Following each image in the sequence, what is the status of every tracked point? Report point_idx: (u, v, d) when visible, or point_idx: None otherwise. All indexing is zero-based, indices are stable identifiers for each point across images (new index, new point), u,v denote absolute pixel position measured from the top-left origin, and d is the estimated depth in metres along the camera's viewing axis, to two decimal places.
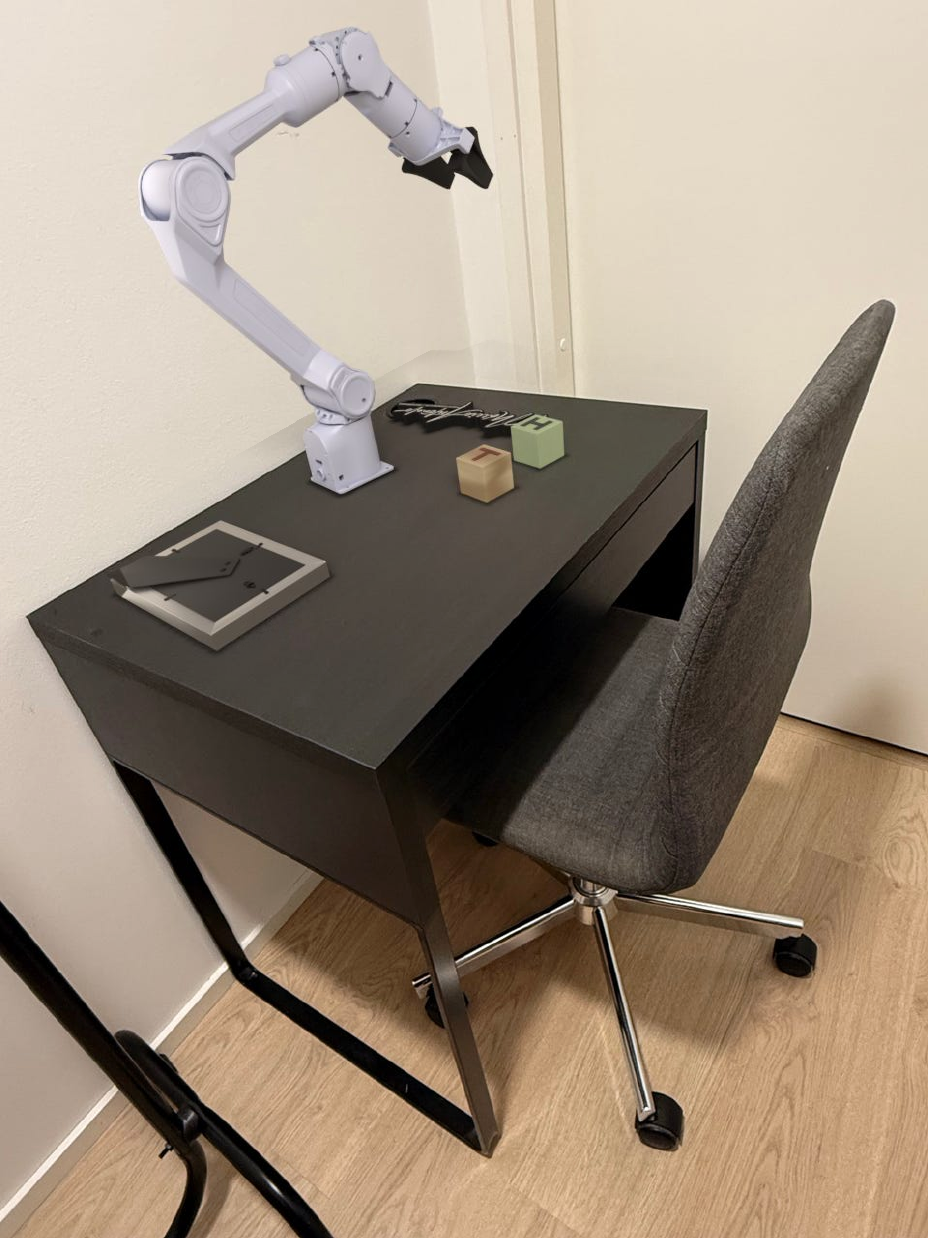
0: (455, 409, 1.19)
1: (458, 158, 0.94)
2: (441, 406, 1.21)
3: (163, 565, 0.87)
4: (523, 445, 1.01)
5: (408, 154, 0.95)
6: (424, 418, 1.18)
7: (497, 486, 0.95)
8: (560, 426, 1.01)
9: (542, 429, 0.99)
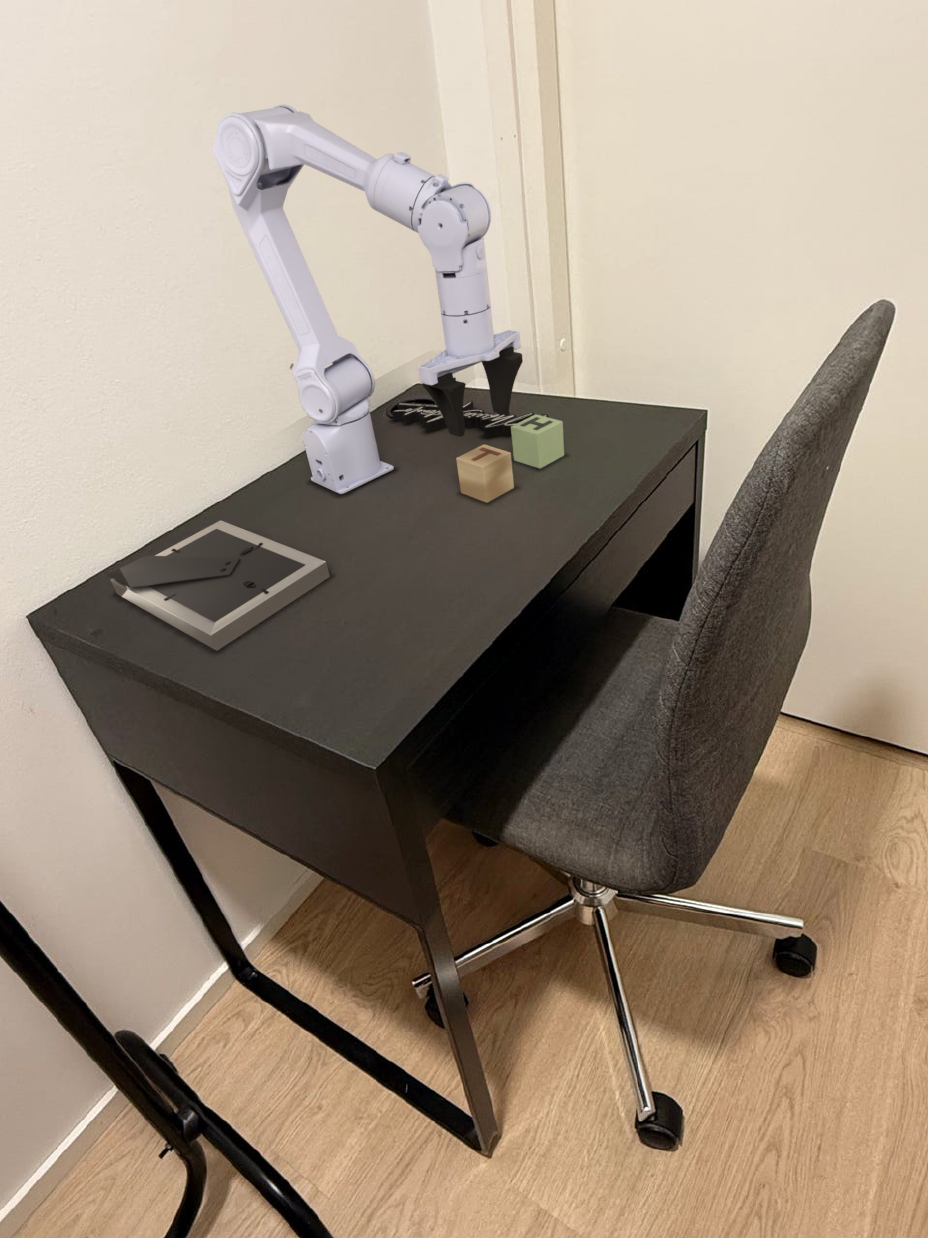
0: None
1: None
2: None
3: (163, 565, 0.87)
4: (523, 445, 1.01)
5: None
6: (424, 418, 1.18)
7: (497, 486, 0.95)
8: (560, 426, 1.01)
9: (542, 429, 0.99)
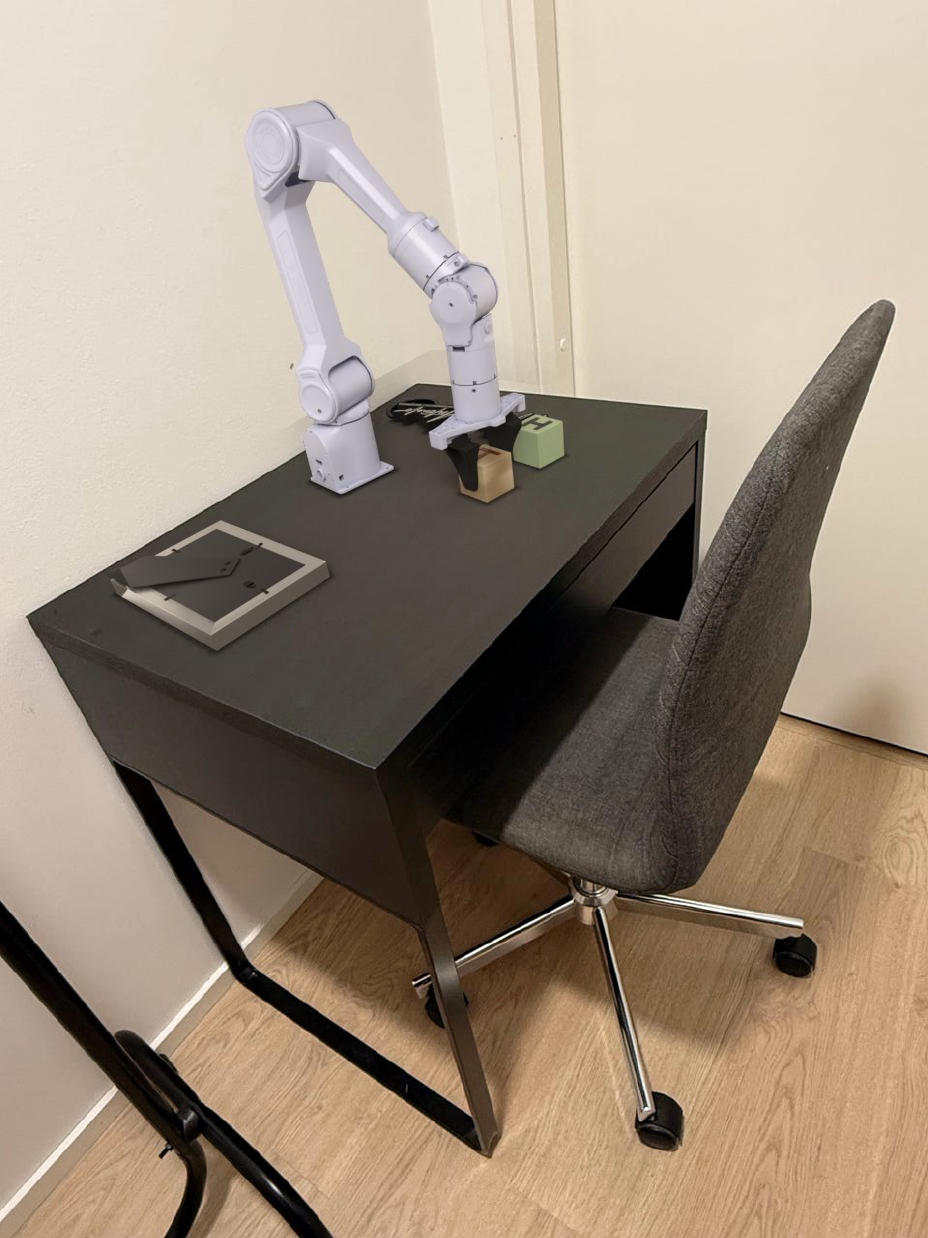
0: None
1: None
2: (441, 406, 1.21)
3: (163, 565, 0.87)
4: (523, 445, 1.01)
5: None
6: (424, 418, 1.18)
7: (497, 486, 0.95)
8: (560, 426, 1.01)
9: (542, 429, 0.99)
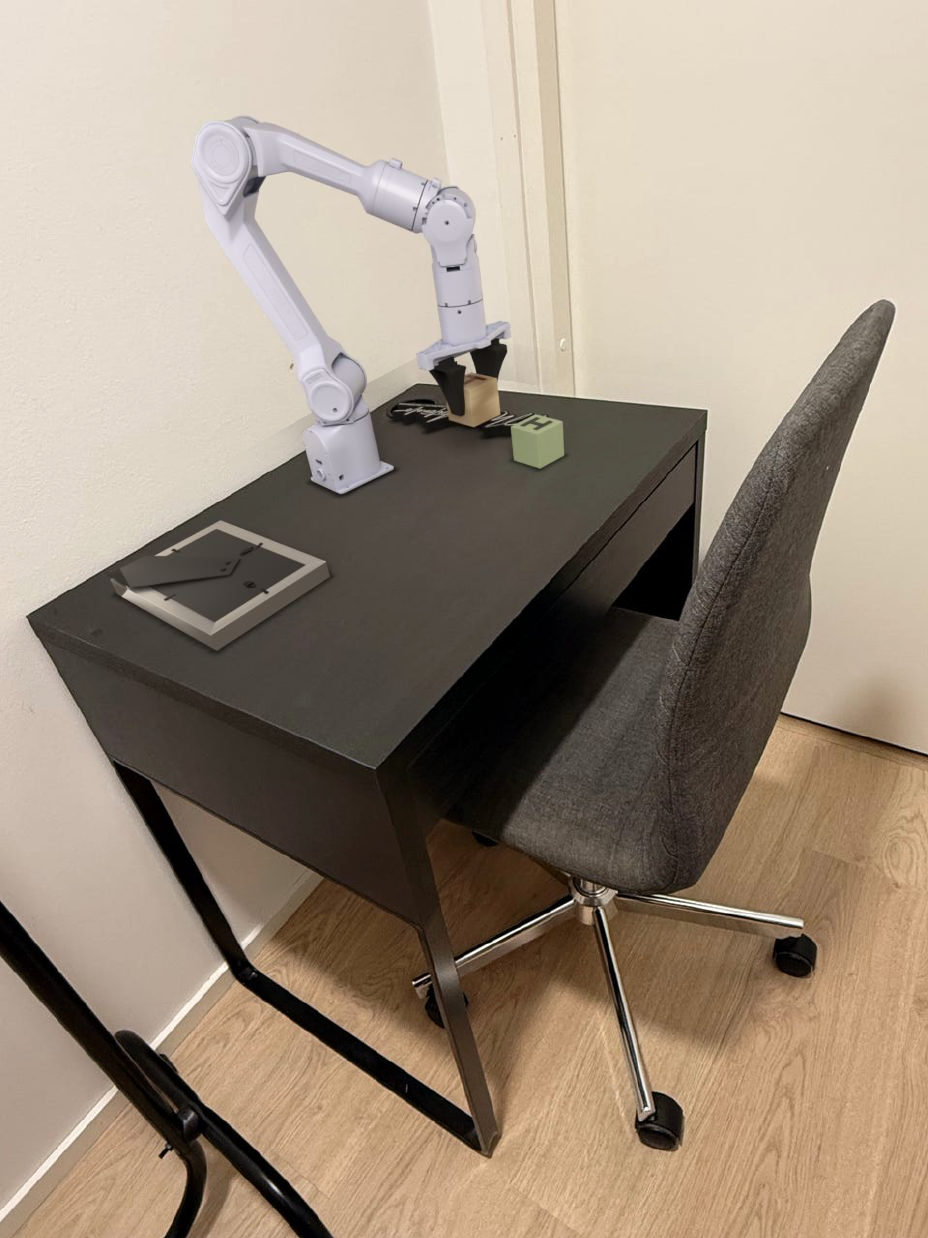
0: None
1: None
2: (441, 406, 1.21)
3: (163, 565, 0.87)
4: (523, 445, 1.01)
5: None
6: (424, 418, 1.18)
7: (484, 411, 0.98)
8: (560, 426, 1.01)
9: (542, 429, 0.99)
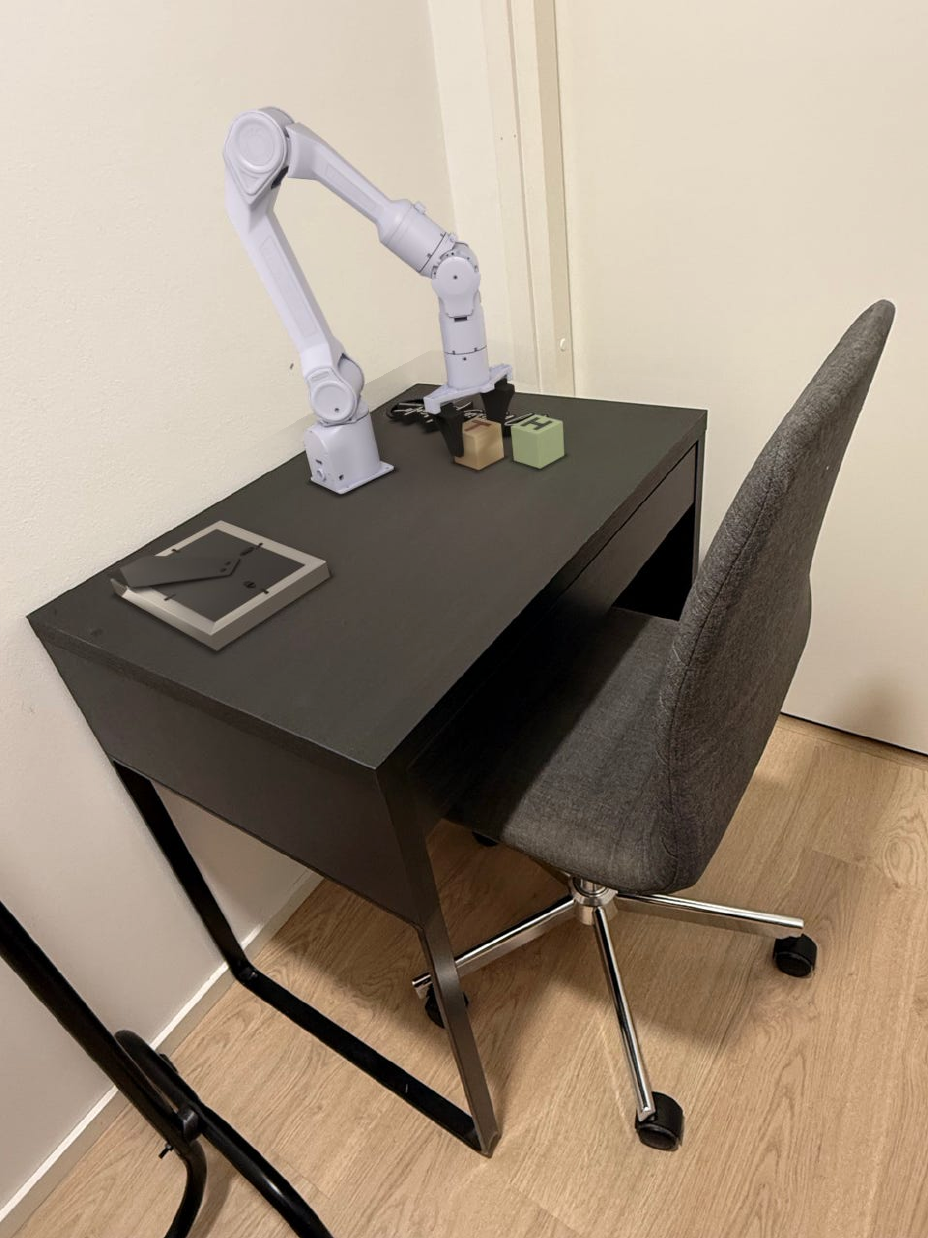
0: None
1: None
2: None
3: (163, 565, 0.87)
4: (523, 445, 1.01)
5: None
6: (424, 418, 1.18)
7: (488, 454, 1.03)
8: (560, 426, 1.01)
9: (542, 429, 0.99)
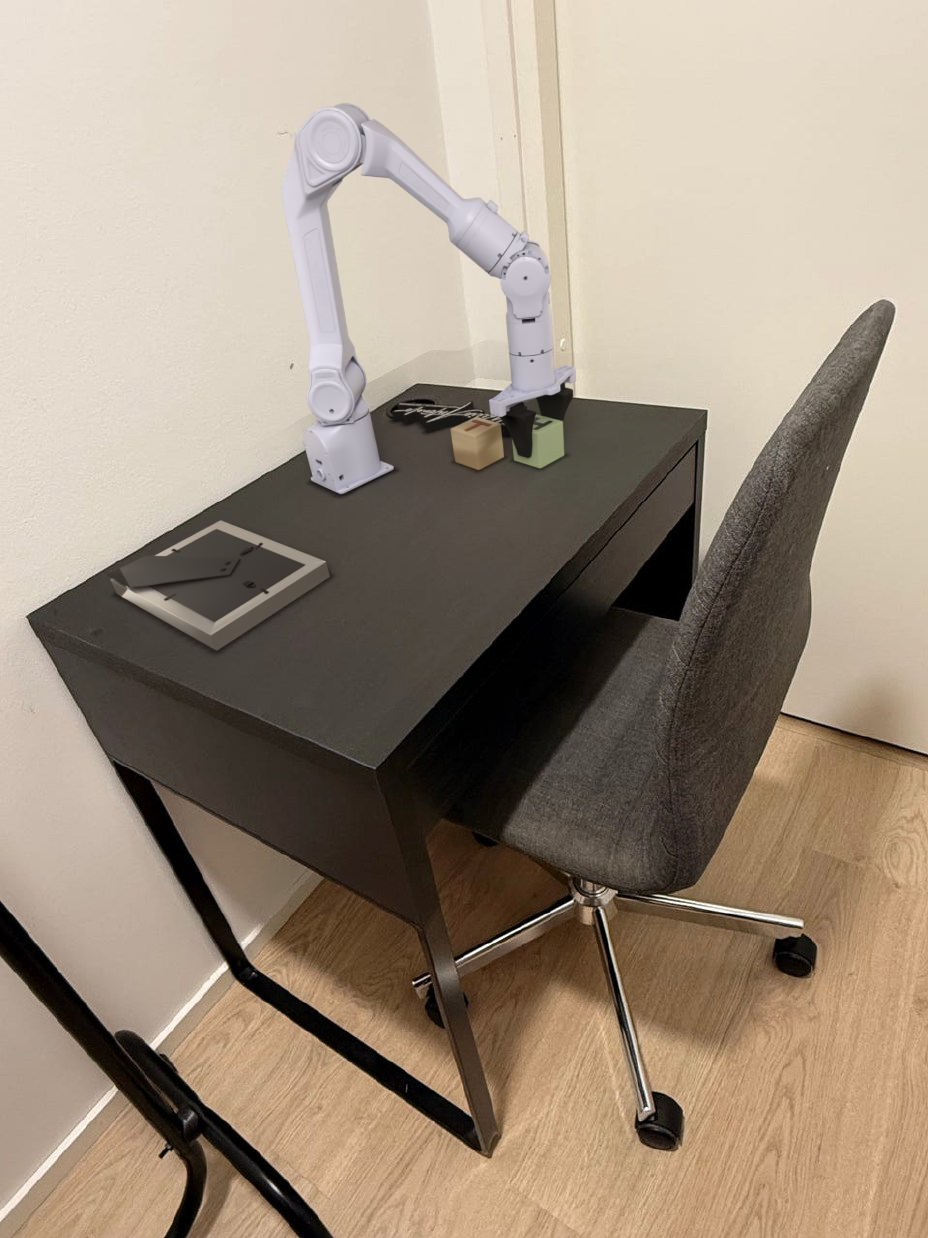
0: (455, 409, 1.19)
1: None
2: (441, 406, 1.21)
3: (163, 565, 0.87)
4: None
5: None
6: (424, 418, 1.18)
7: (488, 454, 1.03)
8: (561, 426, 1.01)
9: (542, 429, 0.99)
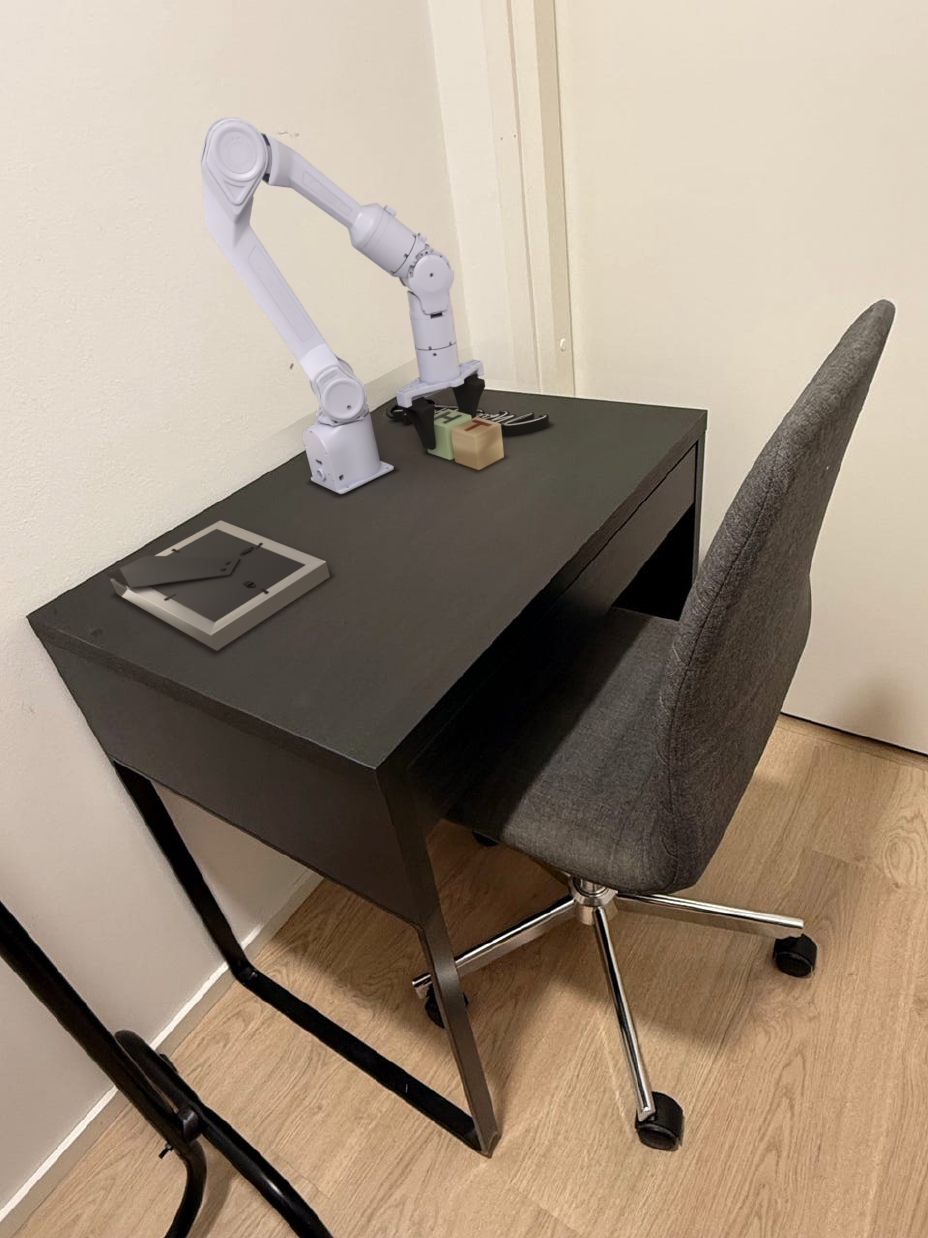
0: (455, 409, 1.19)
1: None
2: (441, 406, 1.21)
3: (163, 565, 0.87)
4: None
5: None
6: None
7: (488, 454, 1.04)
8: None
9: (451, 422, 1.05)
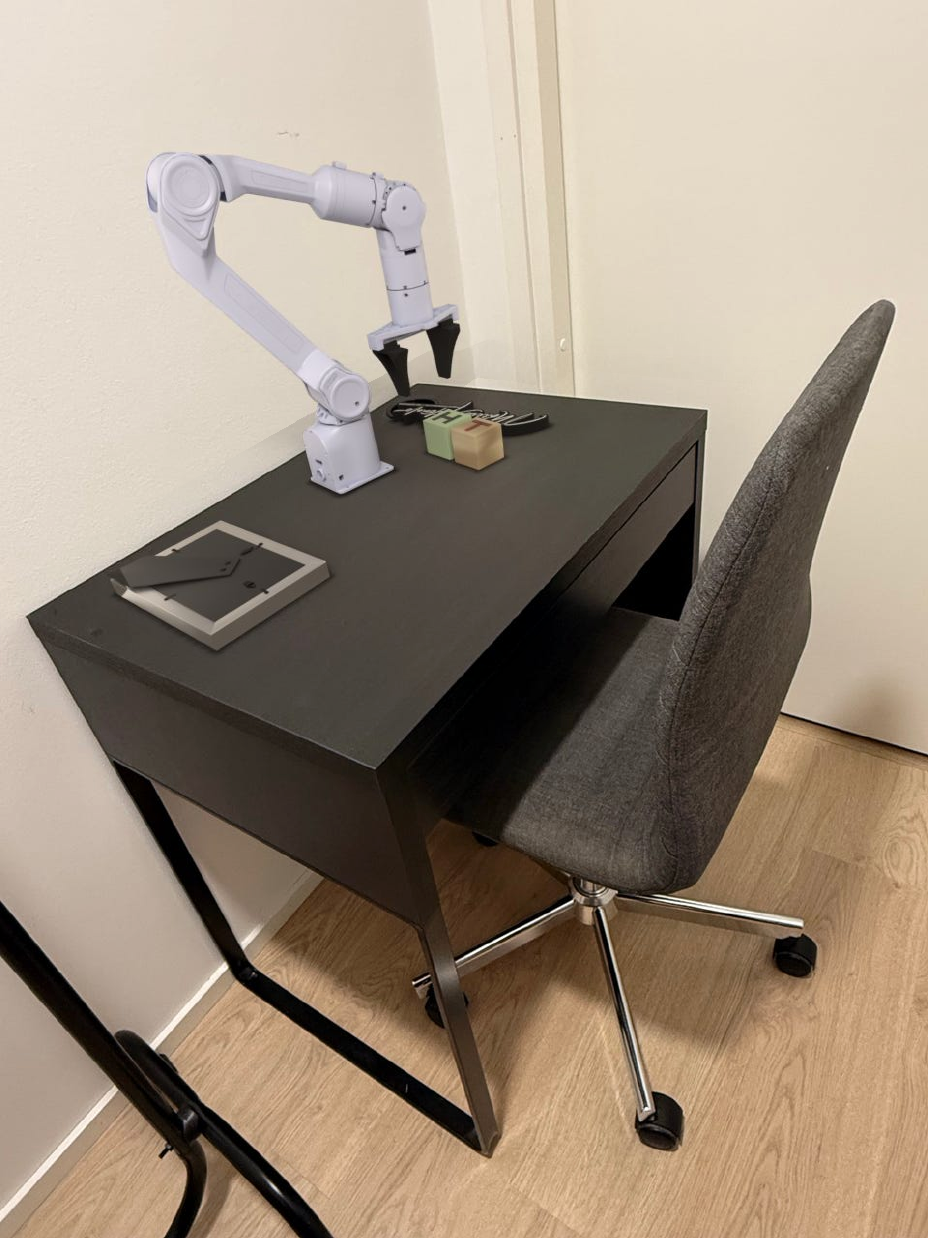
0: (455, 409, 1.19)
1: None
2: (441, 406, 1.21)
3: (163, 565, 0.87)
4: (434, 437, 1.07)
5: None
6: (424, 418, 1.18)
7: (488, 454, 1.04)
8: None
9: (451, 422, 1.05)
